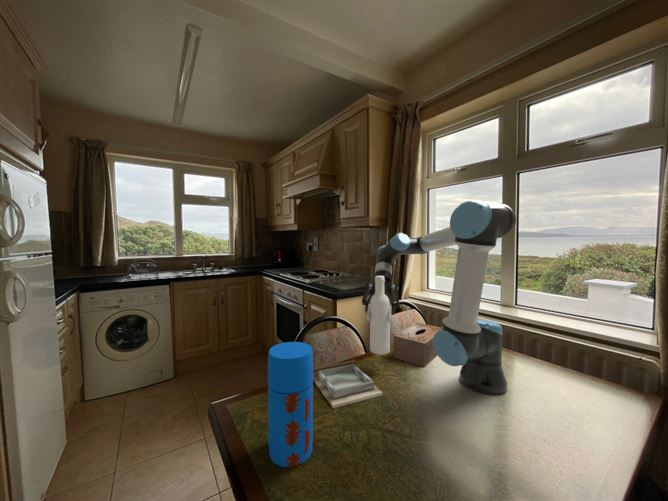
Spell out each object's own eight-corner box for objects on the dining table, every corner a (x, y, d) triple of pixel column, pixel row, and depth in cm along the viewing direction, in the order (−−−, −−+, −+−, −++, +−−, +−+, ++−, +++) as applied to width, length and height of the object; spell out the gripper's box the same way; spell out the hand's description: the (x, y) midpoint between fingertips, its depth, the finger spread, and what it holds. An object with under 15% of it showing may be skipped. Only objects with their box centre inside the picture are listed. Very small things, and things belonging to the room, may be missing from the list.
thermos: (272, 435, 71) (271, 342, 70) (312, 432, 72) (312, 340, 71) (265, 469, 60) (264, 360, 59) (312, 466, 61) (312, 358, 60)
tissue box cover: (416, 341, 139) (417, 322, 139) (445, 348, 130) (445, 328, 130) (393, 357, 120) (393, 335, 119) (425, 367, 110) (425, 343, 110)
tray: (382, 395, 90) (382, 383, 90) (332, 408, 83) (332, 395, 82) (354, 369, 108) (354, 359, 108) (312, 378, 101) (312, 367, 101)
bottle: (393, 353, 104) (393, 276, 104) (375, 356, 102) (375, 277, 102) (383, 346, 112) (383, 274, 111) (366, 348, 110) (366, 275, 109)
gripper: (407, 280, 118) (406, 327, 103) (361, 279, 124) (354, 323, 109) (407, 269, 113) (406, 317, 98) (359, 268, 119) (351, 313, 104)
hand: (378, 320), depth 104 cm, fingers closed on bottle, 8 cm apart
